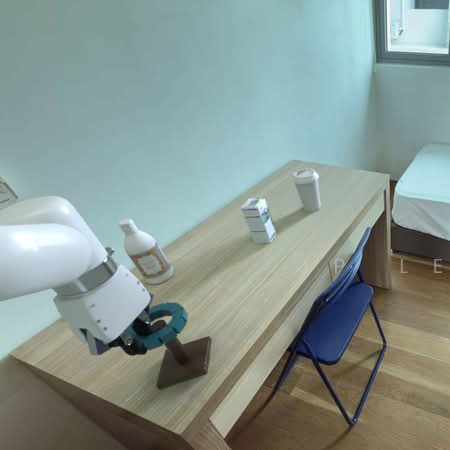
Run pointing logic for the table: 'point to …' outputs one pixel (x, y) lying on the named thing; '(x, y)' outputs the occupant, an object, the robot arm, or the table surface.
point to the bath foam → (145, 253)
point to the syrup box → (259, 220)
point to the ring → (168, 331)
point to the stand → (182, 359)
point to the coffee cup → (307, 189)
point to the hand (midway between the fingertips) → (144, 345)
